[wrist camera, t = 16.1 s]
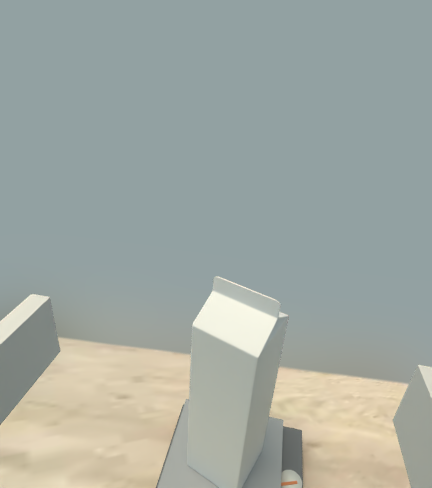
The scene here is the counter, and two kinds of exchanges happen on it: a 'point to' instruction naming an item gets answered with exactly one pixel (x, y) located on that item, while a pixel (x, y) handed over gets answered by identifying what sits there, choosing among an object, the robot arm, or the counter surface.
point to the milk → (232, 381)
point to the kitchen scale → (263, 472)
